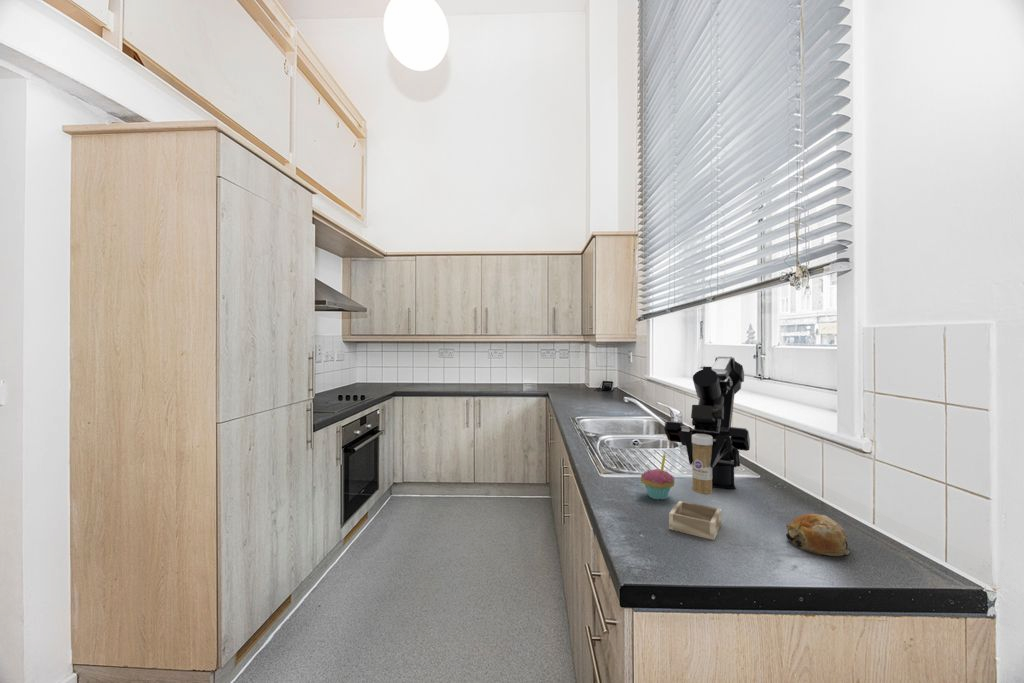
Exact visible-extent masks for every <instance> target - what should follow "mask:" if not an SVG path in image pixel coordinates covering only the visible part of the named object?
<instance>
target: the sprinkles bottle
mask: <svg viewBox="0 0 1024 683" xmlns="http://www.w3.org/2000/svg"><path fill="white" fill-rule="evenodd" d="M692 444H693V462H692V465H691V466H692V467H691V475H692V487H691V489H692V492H694V493H697V494H699V495H700V494H701V495H710V494H712V493H713V492H714V491H713V487H712V468H711V459H712V444H713V437H712V436H711V435H707V434H693V435H692Z"/></svg>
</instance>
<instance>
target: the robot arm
mask: <svg viewBox="0 0 1024 683" xmlns="http://www.w3.org/2000/svg"><path fill="white" fill-rule="evenodd" d="M692 382H693V384H694V389H695V393H696V396H697V397H698V403H697V404H692V405H691V411H690V412H691V414H690V418H691V420H692V421H691V424H692V425H691V426H693V428H692V427H691V426H686V425H685V426H684V424H683V422H682V421H674V420H673V421H672V420H668V421H666V422H665V424H664V427H663V430H664V432H665V435H666V438H667V440H668V441H670V442H674V443H680V444H681V445H682V446H684V447H685V446H686V452H687V458H688V463H689V465H691V466H692V463H693V444H692V435H693V434H707V435H711V436H712V437H713V444H712V459H711V468H712V488H721V489H731V490H736V489H737V486H736V485H735V468H738V467H741V456H740V451H749V450H750V447H751V439H750V433H749V430H748V429H747V428H746V427H745V428H744V427H736V426H735V427H734V426H732V421H733V411H734V403H735V395H736V393H738V392H739V391H740V390H741V388H742V383H744V382H745V370H744V367H743V365H742V364H741V363H739V362H738V361H736V360H735V357H733V356H725V355H724V356H717V357H716V356H715V361H714V363H713V365H712V366H703V367H702V369H699V370H698V371H695V373H694V374H693V376H692Z"/></svg>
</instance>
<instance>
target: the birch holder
mask: <svg viewBox="0 0 1024 683" xmlns="http://www.w3.org/2000/svg"><path fill="white" fill-rule="evenodd" d="M722 518H723V517H722V509H721V508H718V507H714V506H713V507H712V506H708V505H704V504H698V503H693V502H688V501H682V500H679V501H678V502H677V503H676V504H675V505H674V507H673V508H672V509H671V510H670V512H669V513H668V530H670V529H671V531H674V530H675V531H674V532H678V531H679V532H678V533H681V534H682V533H684V534H687V535H692V536H696V537H700V538H703V539H708V540H713V541H715V539H716V537H717V535H718V533H719V531H720V529H721V527H722V520H723V519H722Z"/></svg>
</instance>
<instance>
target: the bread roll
mask: <svg viewBox="0 0 1024 683" xmlns="http://www.w3.org/2000/svg"><path fill="white" fill-rule="evenodd" d="M786 529H787V533H786V534H785V537H786V538H787V539H788V540H789V541H790V542H791V543H792V544H793V545H794V546H795V547H797V548H800V549H802V550H804V551H807V552H809V551H810V553H812V554H815V555H819V556H821V555H822V556H827V555H828V557H841V556H844V555H845V556H848V555H849V554H850V550H848V549H847V548H848V546H849V545H848V538H847V535H846V532H845V530H844V527H842V526H841V525H840V524H839V523H838V522H837V521H835V520H833V519H832V518H830V517H829V516H827V515H825V514H820V513H819V514H818V513H807V514H801V515H799V516H797V517H795V518H794V519H793V520H792V521H790V522H789V523H787V524H786Z"/></svg>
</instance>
